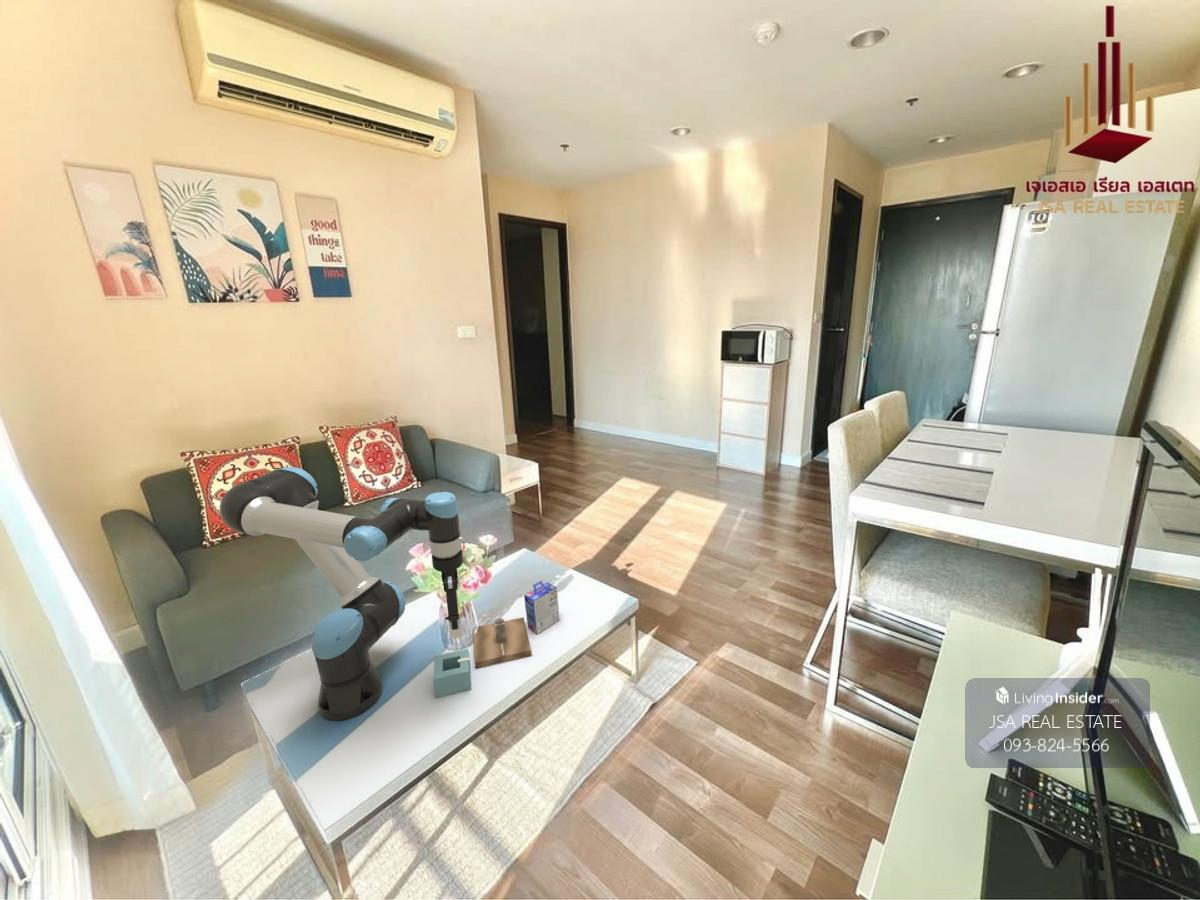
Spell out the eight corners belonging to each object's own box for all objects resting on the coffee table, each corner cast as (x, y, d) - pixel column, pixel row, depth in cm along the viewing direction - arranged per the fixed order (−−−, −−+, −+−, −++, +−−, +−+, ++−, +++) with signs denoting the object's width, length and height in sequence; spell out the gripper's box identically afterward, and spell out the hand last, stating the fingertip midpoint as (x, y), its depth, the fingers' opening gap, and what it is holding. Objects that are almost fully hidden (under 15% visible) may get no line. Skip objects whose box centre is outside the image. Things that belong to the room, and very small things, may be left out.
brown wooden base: (475, 668, 132) (472, 645, 129) (473, 632, 146) (470, 611, 144) (531, 655, 136) (529, 632, 134) (524, 622, 151) (522, 601, 149)
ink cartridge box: (549, 612, 155) (546, 574, 151) (560, 619, 152) (558, 581, 148) (526, 627, 149) (522, 588, 144) (537, 634, 145) (533, 594, 141)
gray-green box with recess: (472, 689, 125) (469, 669, 123) (436, 697, 122) (433, 678, 120) (470, 665, 133) (468, 647, 131) (437, 673, 130) (434, 654, 128)
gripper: (465, 573, 109) (473, 648, 115) (459, 528, 131) (465, 592, 138) (431, 579, 106) (441, 655, 113) (431, 532, 129) (439, 598, 135)
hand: (454, 621), depth 125 cm, fingers open, 13 cm apart
